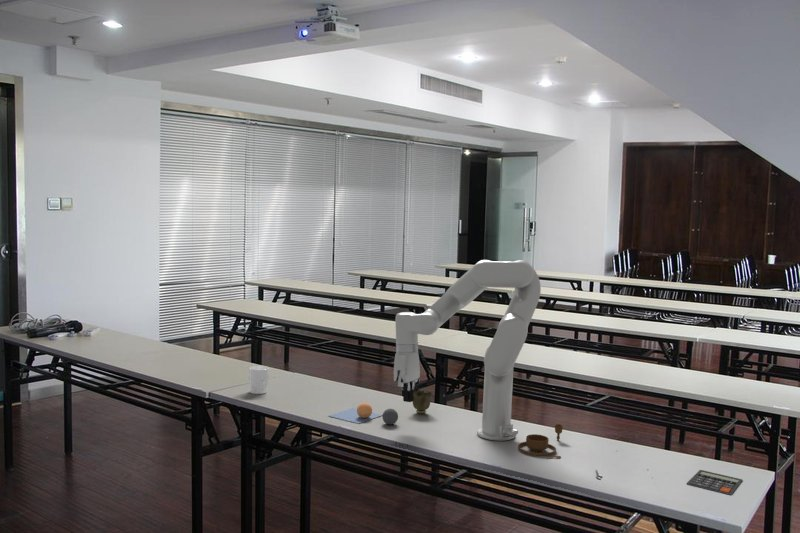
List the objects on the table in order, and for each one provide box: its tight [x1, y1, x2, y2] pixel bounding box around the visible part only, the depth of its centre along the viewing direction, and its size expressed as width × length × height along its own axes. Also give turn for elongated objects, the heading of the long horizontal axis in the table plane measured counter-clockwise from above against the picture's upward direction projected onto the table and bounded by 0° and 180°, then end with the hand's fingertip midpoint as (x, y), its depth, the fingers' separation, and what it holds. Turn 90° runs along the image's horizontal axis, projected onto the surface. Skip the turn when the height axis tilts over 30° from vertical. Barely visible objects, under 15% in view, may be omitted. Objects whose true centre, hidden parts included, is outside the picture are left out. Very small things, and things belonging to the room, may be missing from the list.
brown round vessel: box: [412, 389, 433, 415], centre depth 257 cm, size 8×7×8 cm
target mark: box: [328, 407, 383, 425], centre depth 251 cm, size 14×14×1 cm
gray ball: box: [381, 408, 399, 426], centre depth 242 cm, size 6×6×6 cm
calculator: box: [686, 469, 743, 496], centre depth 197 cm, size 12×1×15 cm
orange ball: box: [356, 402, 373, 418], centre depth 248 cm, size 6×6×6 cm
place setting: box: [517, 423, 564, 460], centre depth 221 cm, size 18×20×6 cm
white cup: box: [248, 365, 270, 395], centre depth 280 cm, size 8×8×10 cm
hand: (408, 401), depth 238 cm, fingers closed
